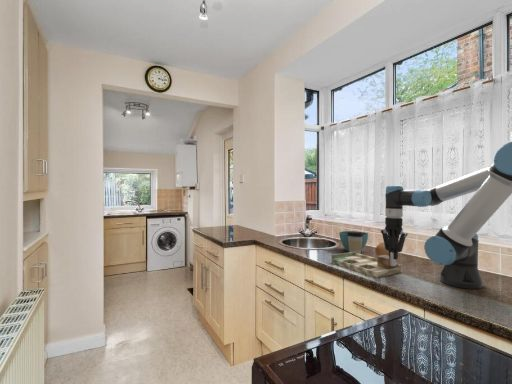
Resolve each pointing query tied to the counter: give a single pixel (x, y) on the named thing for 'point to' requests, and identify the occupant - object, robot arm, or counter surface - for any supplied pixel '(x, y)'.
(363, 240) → the plant pot
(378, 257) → the block
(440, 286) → the counter surface
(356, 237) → the coffee cup
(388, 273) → the compartment tray
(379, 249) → the onion
